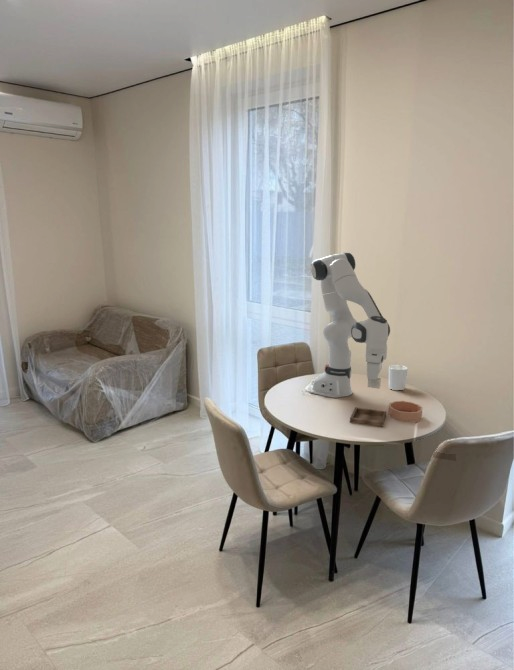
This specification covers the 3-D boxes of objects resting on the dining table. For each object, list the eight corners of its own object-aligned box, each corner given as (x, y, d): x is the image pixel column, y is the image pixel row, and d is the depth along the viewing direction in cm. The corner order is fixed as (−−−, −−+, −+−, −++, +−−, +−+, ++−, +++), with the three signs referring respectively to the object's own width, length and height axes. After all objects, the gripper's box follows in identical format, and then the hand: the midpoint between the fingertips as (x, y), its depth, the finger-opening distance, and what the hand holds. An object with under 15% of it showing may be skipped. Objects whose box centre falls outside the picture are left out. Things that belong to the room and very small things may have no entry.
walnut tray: (349, 424, 215) (350, 418, 214) (354, 413, 227) (355, 407, 227) (382, 429, 210) (382, 422, 209) (385, 417, 223) (386, 411, 222)
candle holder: (408, 387, 264) (410, 366, 262) (402, 392, 256) (404, 370, 253) (390, 384, 269) (391, 363, 267) (384, 389, 261) (386, 367, 259)
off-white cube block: (367, 387, 215) (368, 379, 214) (368, 384, 218) (369, 376, 217) (379, 388, 213) (379, 380, 212) (380, 385, 217) (380, 378, 216)
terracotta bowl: (386, 420, 219) (387, 410, 218) (389, 409, 233) (390, 399, 232) (420, 425, 215) (421, 414, 213) (422, 413, 228) (422, 403, 227)
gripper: (372, 347, 223) (370, 376, 226) (365, 359, 204) (363, 390, 207) (386, 349, 221) (384, 378, 224) (380, 360, 202) (378, 392, 205)
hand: (373, 384), depth 215 cm, fingers closed on off-white cube block, 4 cm apart
